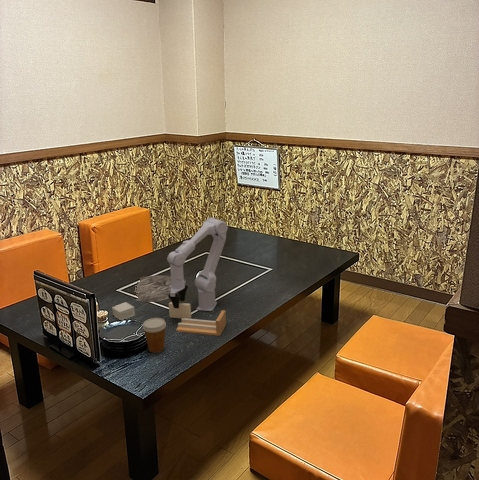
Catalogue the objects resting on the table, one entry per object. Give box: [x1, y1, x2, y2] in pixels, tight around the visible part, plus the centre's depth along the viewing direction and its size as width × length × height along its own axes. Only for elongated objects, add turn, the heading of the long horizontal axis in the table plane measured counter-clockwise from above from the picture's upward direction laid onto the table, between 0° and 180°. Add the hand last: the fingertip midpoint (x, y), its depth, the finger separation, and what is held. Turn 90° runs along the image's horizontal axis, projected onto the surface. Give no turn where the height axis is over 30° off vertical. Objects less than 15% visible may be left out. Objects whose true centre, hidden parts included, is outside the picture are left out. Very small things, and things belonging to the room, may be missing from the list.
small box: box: [111, 301, 136, 321], centre depth 222 cm, size 8×8×5 cm
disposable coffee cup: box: [142, 317, 167, 353], centre depth 192 cm, size 10×10×12 cm
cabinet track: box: [175, 310, 227, 336], centre depth 208 cm, size 10×20×7 cm, turn 76°
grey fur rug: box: [134, 274, 178, 303], centre depth 253 cm, size 33×35×1 cm
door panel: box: [168, 301, 192, 319], centre depth 219 cm, size 2×10×7 cm, turn 76°
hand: (179, 304), depth 218 cm, fingers open, 7 cm apart
